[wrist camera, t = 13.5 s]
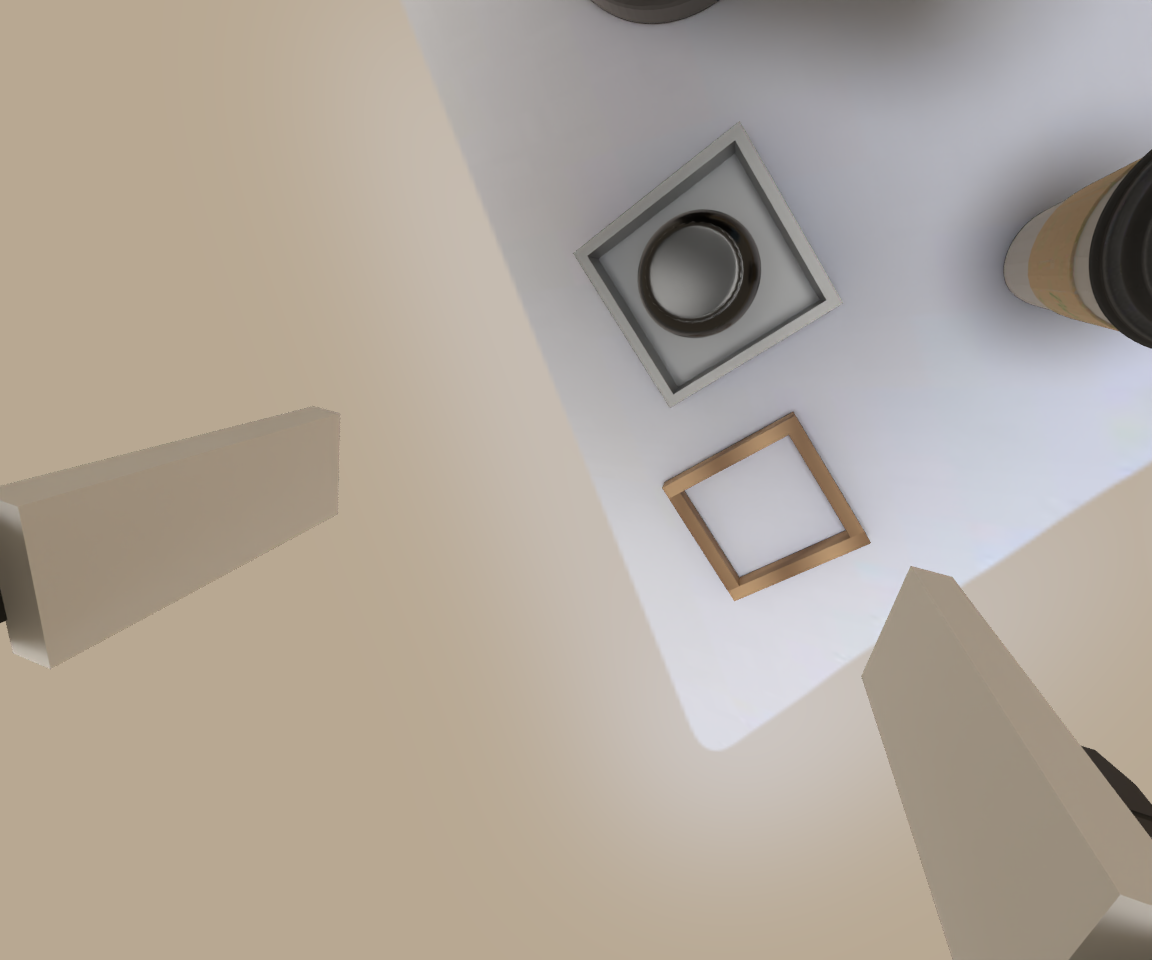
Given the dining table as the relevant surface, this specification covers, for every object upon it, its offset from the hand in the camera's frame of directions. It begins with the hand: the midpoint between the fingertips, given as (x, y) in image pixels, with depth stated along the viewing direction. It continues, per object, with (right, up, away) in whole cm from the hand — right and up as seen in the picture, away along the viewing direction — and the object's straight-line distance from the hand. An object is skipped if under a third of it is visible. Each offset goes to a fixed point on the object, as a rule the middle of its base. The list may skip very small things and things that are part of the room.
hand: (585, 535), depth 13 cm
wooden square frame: (+14, -1, +31) cm, 34 cm away
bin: (+9, +16, +27) cm, 32 cm away
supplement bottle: (+9, +15, +26) cm, 32 cm away
